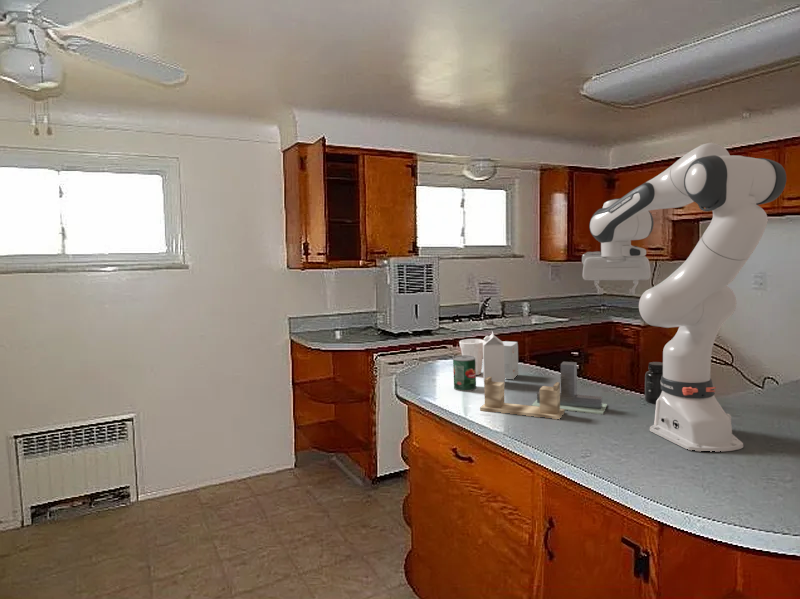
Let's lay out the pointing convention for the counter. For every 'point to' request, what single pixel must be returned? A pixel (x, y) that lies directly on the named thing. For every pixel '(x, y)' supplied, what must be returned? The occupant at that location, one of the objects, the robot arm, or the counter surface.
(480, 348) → the cup
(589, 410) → the mat
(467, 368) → the canned tomato
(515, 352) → the small box
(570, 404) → the grey inverted t block
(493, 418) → the counter surface
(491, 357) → the milk carton
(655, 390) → the supplement bottle
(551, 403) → the stand
